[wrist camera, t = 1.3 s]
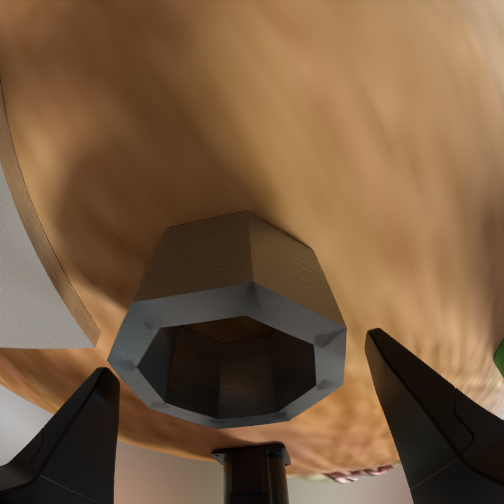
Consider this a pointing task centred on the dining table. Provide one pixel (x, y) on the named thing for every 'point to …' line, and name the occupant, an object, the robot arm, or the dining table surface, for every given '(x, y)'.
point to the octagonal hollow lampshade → (227, 306)
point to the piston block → (33, 271)
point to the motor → (500, 358)
